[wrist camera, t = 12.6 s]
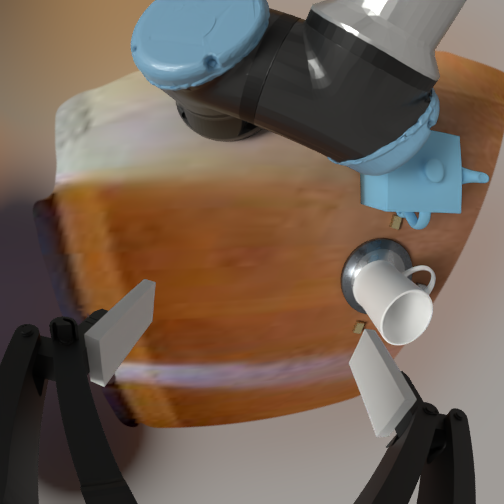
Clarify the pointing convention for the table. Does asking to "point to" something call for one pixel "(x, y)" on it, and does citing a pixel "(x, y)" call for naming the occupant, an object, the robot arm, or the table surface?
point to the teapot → (423, 182)
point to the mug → (394, 300)
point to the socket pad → (370, 253)
